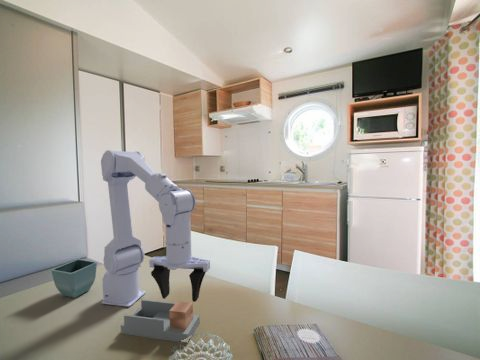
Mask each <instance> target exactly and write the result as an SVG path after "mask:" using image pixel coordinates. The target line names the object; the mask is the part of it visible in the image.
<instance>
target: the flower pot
mask: <svg viewBox="0 0 480 360" xmlns="http://www.w3.org/2000/svg"><path fill="white" fill-rule="evenodd" d="M97 265H98V262H97V261H93V260H87V259H86V260H85V259H75V260H72V261H70V262H68V263H65V264H63V265H59V266H58V267H55V268H52V269H51V275H52V280H53V283H54V286H55V288H56V289H57V291H58V292H59V293H60V294H61V295H62V296H65V297H68V298H72V299H73V298H74V299H76V298H78V297H80V296H81V295H82V294H85V293H86V292H89V291H90V290H91V288H92V286H93V285H94V282H95V280H96V278H97V277H96V276H97V268H98V266H97Z"/></svg>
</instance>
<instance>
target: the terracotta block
mask: <svg viewBox="0 0 480 360" xmlns="http://www.w3.org/2000/svg"><path fill="white" fill-rule="evenodd" d="M175 303H176V304H175V305H174V306H173V307H172V308H171V309H170V310H169V314H170V327H171V328H178V329H185V330H186V329H187V327H188V326H189V324H190V323H191V321H192V320H193V315H194V305H193V304H194V303H193V302H189V301H181V300H180V301H179V300H178V301H176V302H175Z"/></svg>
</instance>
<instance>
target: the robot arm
mask: <svg viewBox="0 0 480 360" xmlns="http://www.w3.org/2000/svg"><path fill="white" fill-rule="evenodd" d="M100 165H101V176H102V180H103V181H105V182H107V186H108V195H109V205H110V214H111V223H112V232H113V233H112V234H113V235H112V236H113V238H112V239H111V240H110V241H109V243H107V244H106V246H104V251H103V252H104V255H103V267H104V269H105V270H106V272H105V273H104V274H103V277H102V297H103V298H102V301H101V302H100V304H102V305H108V306H109V305H111V306H119V307H127V308H128V307H131V306H132V305H133V304H135V303H136V302H137V301H138V300H139V299H140V298H141V297H142V296H144V295H145V294H146V291H145V290H140V277H139V268H140V267H141V265H142V263H143V262H144V260H145V250H144V248H143V246H142V241H141V239H140V238H138V237H136V236H134V235H133V227H132V219H131V210H130V209H131V208H130V199H129V198H130V197H129V189H128V184H129V182H130V181H131V180H133V179H135V178H136V177H137V178H138V179H139V180H140V181H142V182H143V183H145V184H144V186H145V187H144V189H145V191H146V192H147V193H148V194H149V195H150V196H151V197H153V199H154V200H156V202H157V203H158V210H159V211H160V213H161V217H162V223H163V224H164V225H165V226H164V227H165V229H164V230H165V250H166V255H165V256H153V257H151V258H150V259H149V268H152V269H153V270H152V271H150V274H151V277H152V278H153V279H154V281H155V282H156V284H157V286H158V288H159V291H160V294H161V298H162V299H164V300H165V299H167V297H168V296H169V295H170V289H171V288H170V275H171V274H170V273H171V270H172V271H176V270H177V269H181V270H183V269H185V270H193V271H192V272H190V274H189V275H188V276H189V280H190V284H191V299H192V303H193V302H197V301H198V299H199V297H200V296H199V295H200V291H201V287H202V284H203V283H202V282H203V280H204V278H205V275H206V273H207V272H208V271H209V270H210V269H211V260H210V259H203V258H201V257H200V258H199V257H196V256H192V232H191V231H192V230H191V228H192V227H191V224H192V223H191V213H192V212H193V211H194V209H195V207H196V197H195V195H194V193H193V192H192V191H191V190H190V189H189V188H180V186H178V185H177V184H176V183H174V182H173V181H172V180H171V179H170V178H168V176H167V174H166V173H165V172H164V173H163V172H157V173H156V172H155V171H154V170H153V169H152V167H150V165H149V164H148V163H147V162H146V160H145V155H144V154H142V153H141V152H140V151H124V150H123V151H121V150H110V149H108V150H105V151H104V153H102V157H101V160H100Z"/></svg>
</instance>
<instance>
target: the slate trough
mask: <svg viewBox="0 0 480 360" xmlns="http://www.w3.org/2000/svg"><path fill="white" fill-rule="evenodd" d="M140 303H141V304H140V305H141V307H140V308H138V309H136V310H135V311H134V312H133V313H132V314H131V315H129V314H124V315H123V323H122V324H120V334H121V335H122V334H123V335H130V336H136V337H143V338H151V339H155V340H163V341H170V342H179V341H181V340H184V339H186V338H188V337H189V336H191V335H192V336H193V335H194V334H195V331H196V330H197V328H198V327H199V325H200V322H201V321H200V315H199V314H193V320H192V321H191V323H190V324H189V326H188V327H187V329H186V330H185V329H178V328H171V327H170V314H169V310H170V309H171V308H172V307H173V306H174V305H175V304H176V302H168V301H161V300H151V299H141V300H140ZM179 343H180V342H179Z"/></svg>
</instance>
